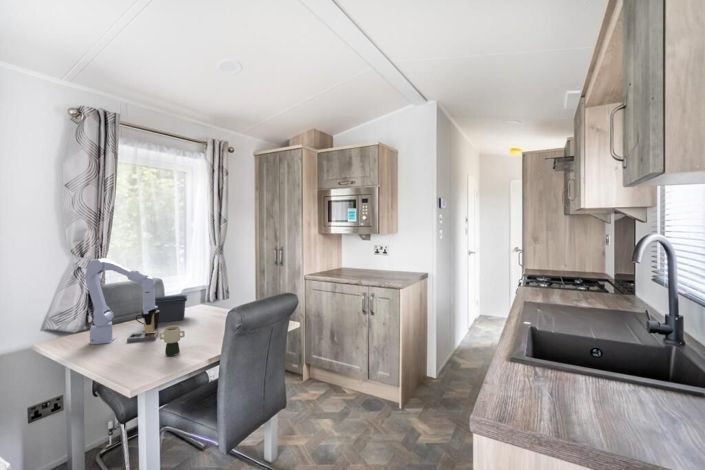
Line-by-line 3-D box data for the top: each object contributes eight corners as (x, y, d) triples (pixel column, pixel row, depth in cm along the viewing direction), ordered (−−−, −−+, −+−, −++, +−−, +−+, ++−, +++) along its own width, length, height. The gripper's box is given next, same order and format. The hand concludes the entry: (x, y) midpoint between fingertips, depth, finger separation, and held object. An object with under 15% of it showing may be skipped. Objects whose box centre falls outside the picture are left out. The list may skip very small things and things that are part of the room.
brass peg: (144, 332, 190) (143, 315, 190) (146, 329, 194) (145, 313, 194) (152, 331, 191) (152, 314, 191) (154, 329, 195) (153, 313, 195)
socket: (127, 342, 186) (126, 338, 186) (132, 337, 194) (132, 333, 194) (154, 340, 190) (154, 336, 190) (158, 334, 198) (158, 330, 198)
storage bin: (149, 324, 217) (148, 301, 216) (152, 317, 231) (152, 296, 231) (187, 320, 225) (186, 298, 225) (188, 314, 240) (188, 293, 239)
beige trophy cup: (185, 350, 175) (185, 324, 175) (184, 355, 169) (183, 329, 168) (161, 353, 172) (160, 327, 171) (158, 358, 165) (157, 331, 164)
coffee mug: (162, 326, 213) (162, 310, 213) (153, 331, 205) (153, 314, 204) (144, 325, 215) (144, 309, 214) (134, 330, 206) (134, 313, 206)
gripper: (154, 301, 186) (154, 326, 187) (160, 295, 200) (160, 319, 201) (138, 302, 184) (139, 328, 185) (146, 296, 198) (146, 320, 199)
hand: (149, 323), depth 193 cm, fingers closed on brass peg, 4 cm apart
